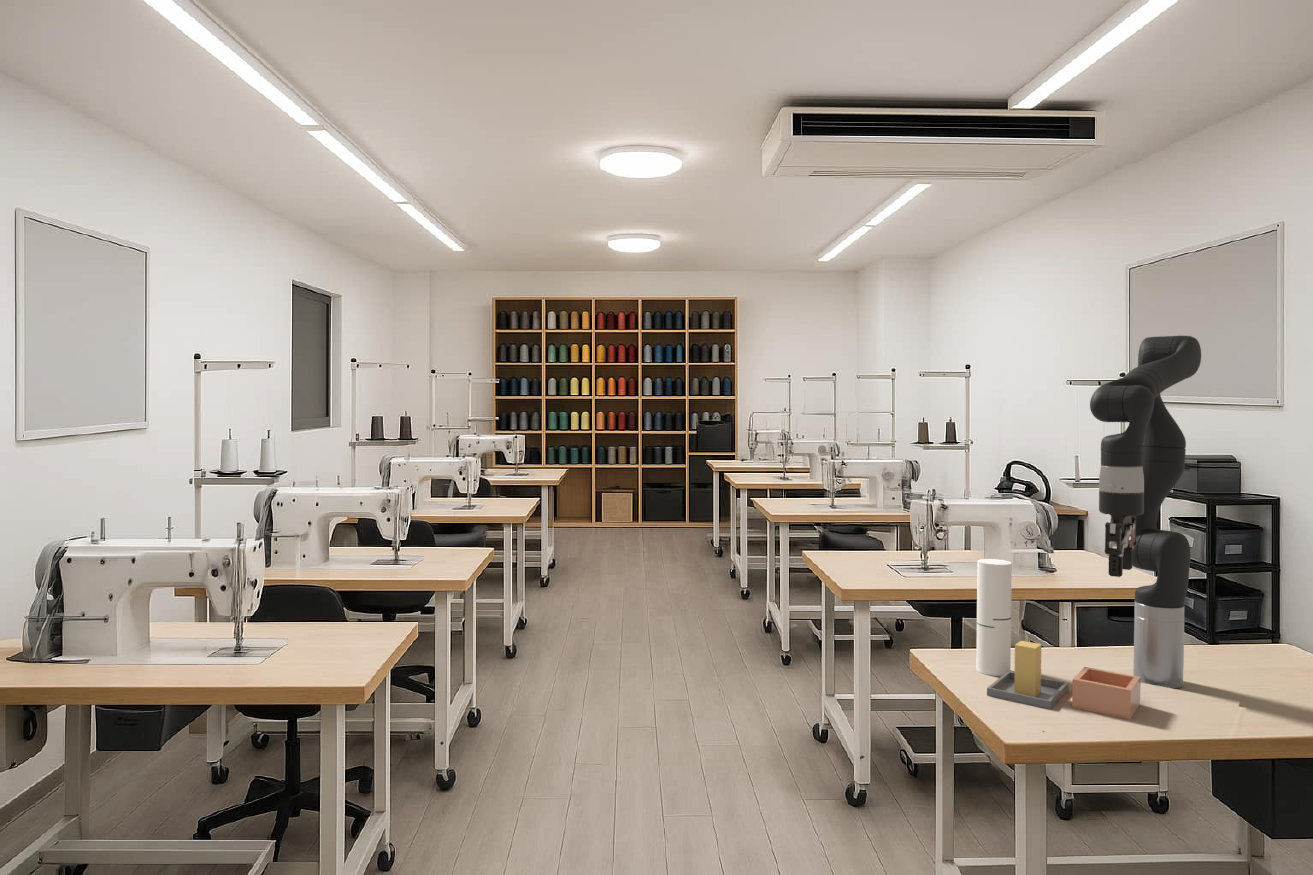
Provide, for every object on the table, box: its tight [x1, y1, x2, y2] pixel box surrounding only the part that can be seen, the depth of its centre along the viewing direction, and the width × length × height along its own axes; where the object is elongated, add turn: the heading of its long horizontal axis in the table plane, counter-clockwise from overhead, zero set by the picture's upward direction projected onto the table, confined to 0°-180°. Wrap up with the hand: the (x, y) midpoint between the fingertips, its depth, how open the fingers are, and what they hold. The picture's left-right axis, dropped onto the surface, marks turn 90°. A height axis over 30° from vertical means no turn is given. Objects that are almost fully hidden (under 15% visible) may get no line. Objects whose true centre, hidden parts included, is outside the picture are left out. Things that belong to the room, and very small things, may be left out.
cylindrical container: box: [975, 558, 1013, 677], centre depth 183 cm, size 7×7×25 cm
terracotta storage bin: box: [1071, 666, 1142, 720], centre depth 159 cm, size 10×10×6 cm
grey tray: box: [986, 670, 1069, 710], centre depth 166 cm, size 14×12×2 cm
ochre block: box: [1014, 640, 1042, 697], centre depth 166 cm, size 4×4×10 cm
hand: (1120, 572), depth 156 cm, fingers open, 8 cm apart
